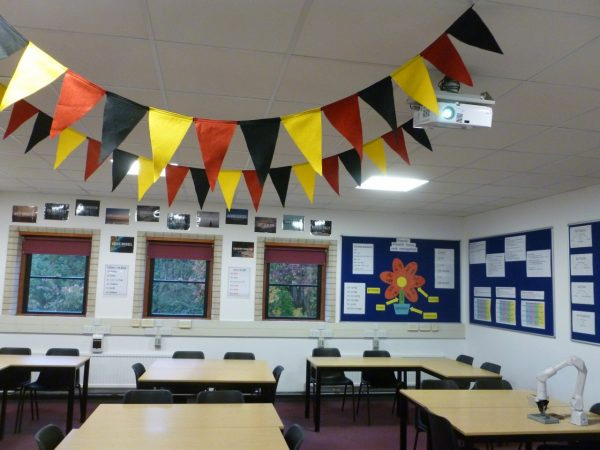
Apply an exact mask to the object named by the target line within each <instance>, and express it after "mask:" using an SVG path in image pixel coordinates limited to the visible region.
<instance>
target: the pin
mask: <svg viewBox="0 0 600 450" xmlns="http://www.w3.org/2000/svg"><path fill="white" fill-rule="evenodd" d="M545 407H546V405H544V406H543V412H539V413H541V416H543V417H545V416H546V415H545V414H546V411H545Z"/></svg>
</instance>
